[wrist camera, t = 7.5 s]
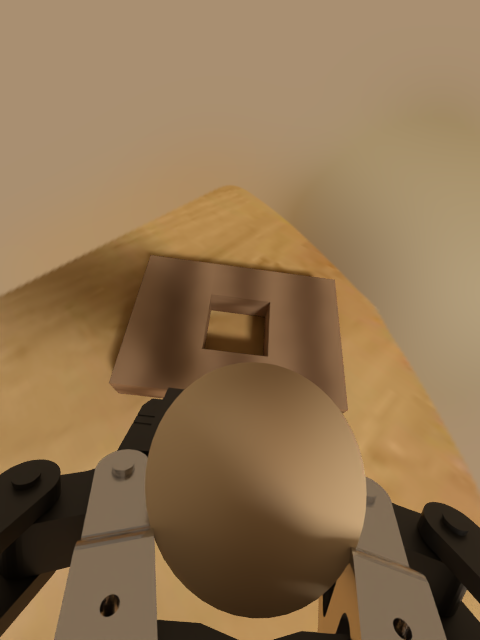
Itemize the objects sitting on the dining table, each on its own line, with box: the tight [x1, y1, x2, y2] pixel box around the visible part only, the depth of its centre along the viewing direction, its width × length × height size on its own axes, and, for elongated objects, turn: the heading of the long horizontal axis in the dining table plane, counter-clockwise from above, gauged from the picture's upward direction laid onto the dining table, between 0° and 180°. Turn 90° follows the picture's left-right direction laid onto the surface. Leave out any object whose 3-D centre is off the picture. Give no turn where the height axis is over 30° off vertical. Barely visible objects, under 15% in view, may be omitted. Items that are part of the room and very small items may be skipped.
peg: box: [145, 362, 367, 618], centre depth 10 cm, size 5×5×10 cm
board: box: [109, 255, 348, 413], centre depth 29 cm, size 20×14×3 cm
